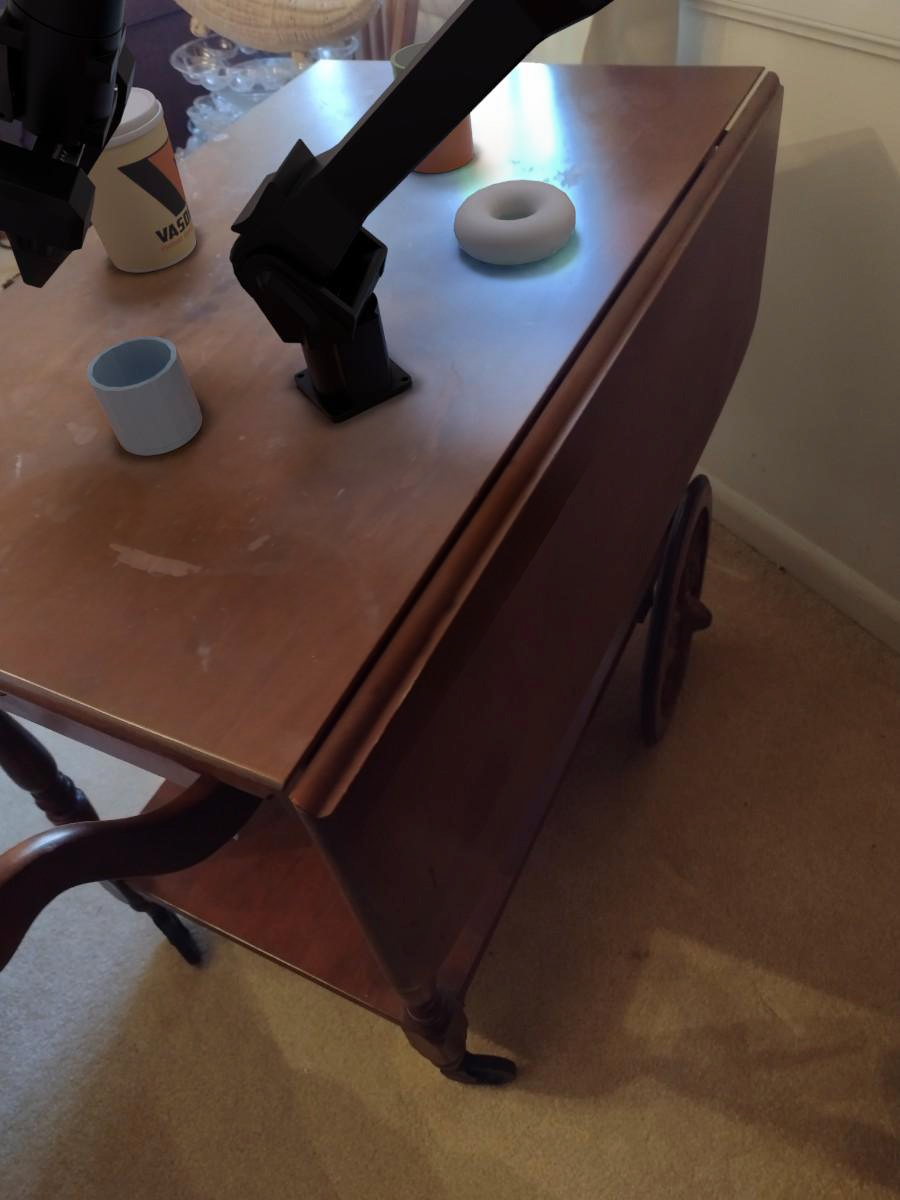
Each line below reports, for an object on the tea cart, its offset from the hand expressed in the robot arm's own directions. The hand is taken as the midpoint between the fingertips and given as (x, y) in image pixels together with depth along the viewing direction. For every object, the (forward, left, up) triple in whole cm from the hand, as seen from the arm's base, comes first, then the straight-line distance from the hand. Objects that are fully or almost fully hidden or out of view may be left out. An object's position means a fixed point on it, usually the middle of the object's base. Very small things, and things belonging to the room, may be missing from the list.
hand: (48, 240), depth 61 cm
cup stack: (+12, -38, -11) cm, 41 cm away
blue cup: (-9, -1, -11) cm, 14 cm away
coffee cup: (+16, -10, -11) cm, 22 cm away
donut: (-6, -34, -11) cm, 36 cm away
